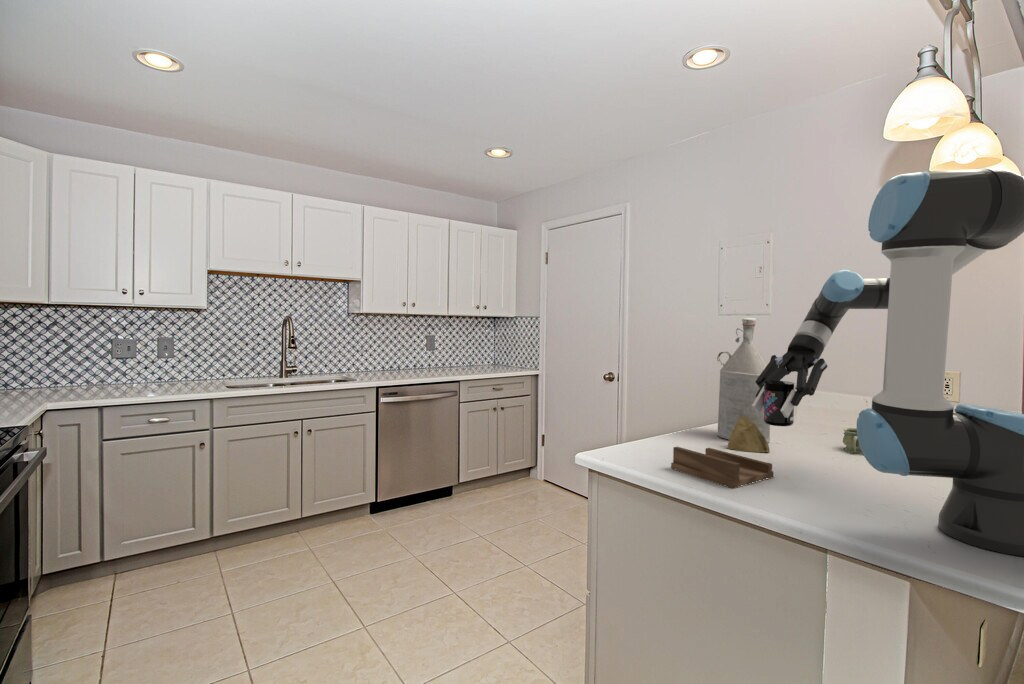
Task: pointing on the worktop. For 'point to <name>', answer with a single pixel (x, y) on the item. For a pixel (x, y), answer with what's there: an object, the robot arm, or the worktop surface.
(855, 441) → the vessel
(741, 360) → the grey jug
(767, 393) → the supplement container
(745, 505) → the worktop surface
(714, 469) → the walnut rack
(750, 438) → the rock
